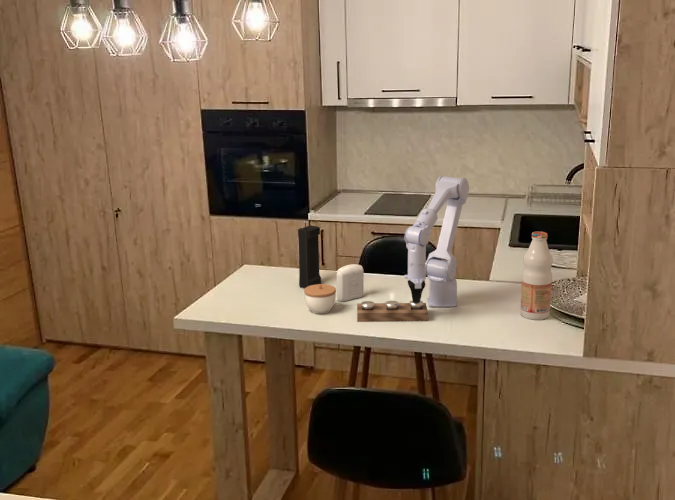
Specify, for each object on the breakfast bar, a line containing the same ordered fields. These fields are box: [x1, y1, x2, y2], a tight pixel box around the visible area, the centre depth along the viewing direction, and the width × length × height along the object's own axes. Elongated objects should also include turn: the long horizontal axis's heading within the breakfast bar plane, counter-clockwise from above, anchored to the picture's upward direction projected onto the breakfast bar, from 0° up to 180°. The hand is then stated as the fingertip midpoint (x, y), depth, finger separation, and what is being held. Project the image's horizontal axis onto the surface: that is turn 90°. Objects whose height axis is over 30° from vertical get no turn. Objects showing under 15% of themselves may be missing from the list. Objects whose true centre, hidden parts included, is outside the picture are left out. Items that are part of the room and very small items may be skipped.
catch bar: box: [356, 302, 429, 323], centre depth 240 cm, size 23×9×3 cm, turn 88°
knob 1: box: [360, 300, 375, 310], centre depth 240 cm, size 4×4×4 cm
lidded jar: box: [303, 283, 337, 315], centre depth 246 cm, size 11×11×9 cm
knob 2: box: [409, 299, 424, 310], centre depth 239 cm, size 4×4×4 cm
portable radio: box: [298, 222, 322, 289], centre depth 268 cm, size 8×6×25 cm
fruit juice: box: [519, 231, 554, 321], centre depth 235 cm, size 9×9×28 cm
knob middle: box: [384, 300, 400, 310], centre depth 240 cm, size 4×4×4 cm
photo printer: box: [336, 263, 365, 302], centre depth 256 cm, size 10×4×12 cm, turn 123°
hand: (416, 302), depth 239 cm, fingers closed, pressing on knob 2
